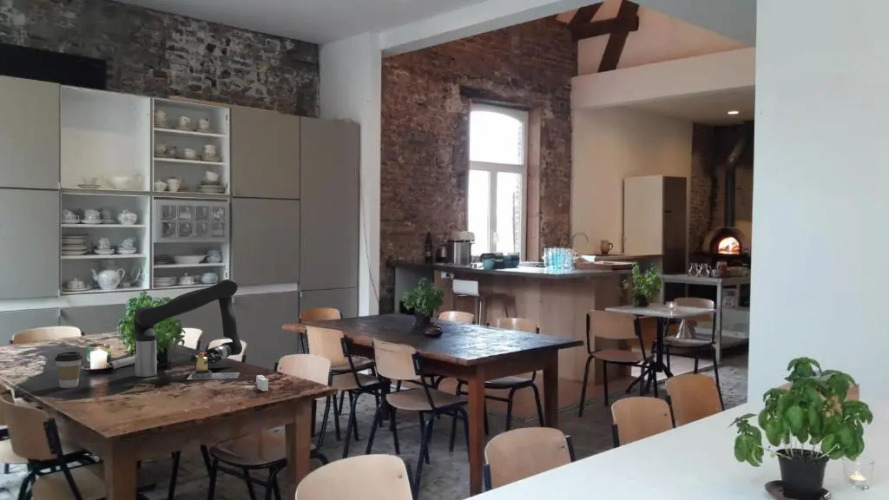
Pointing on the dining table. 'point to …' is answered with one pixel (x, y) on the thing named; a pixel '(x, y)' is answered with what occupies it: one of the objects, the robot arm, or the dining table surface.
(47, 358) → the dining table surface
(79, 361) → the coffee cup
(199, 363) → the brass valve
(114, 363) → the grey long cylinder
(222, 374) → the manifold plate
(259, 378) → the napkin holder
